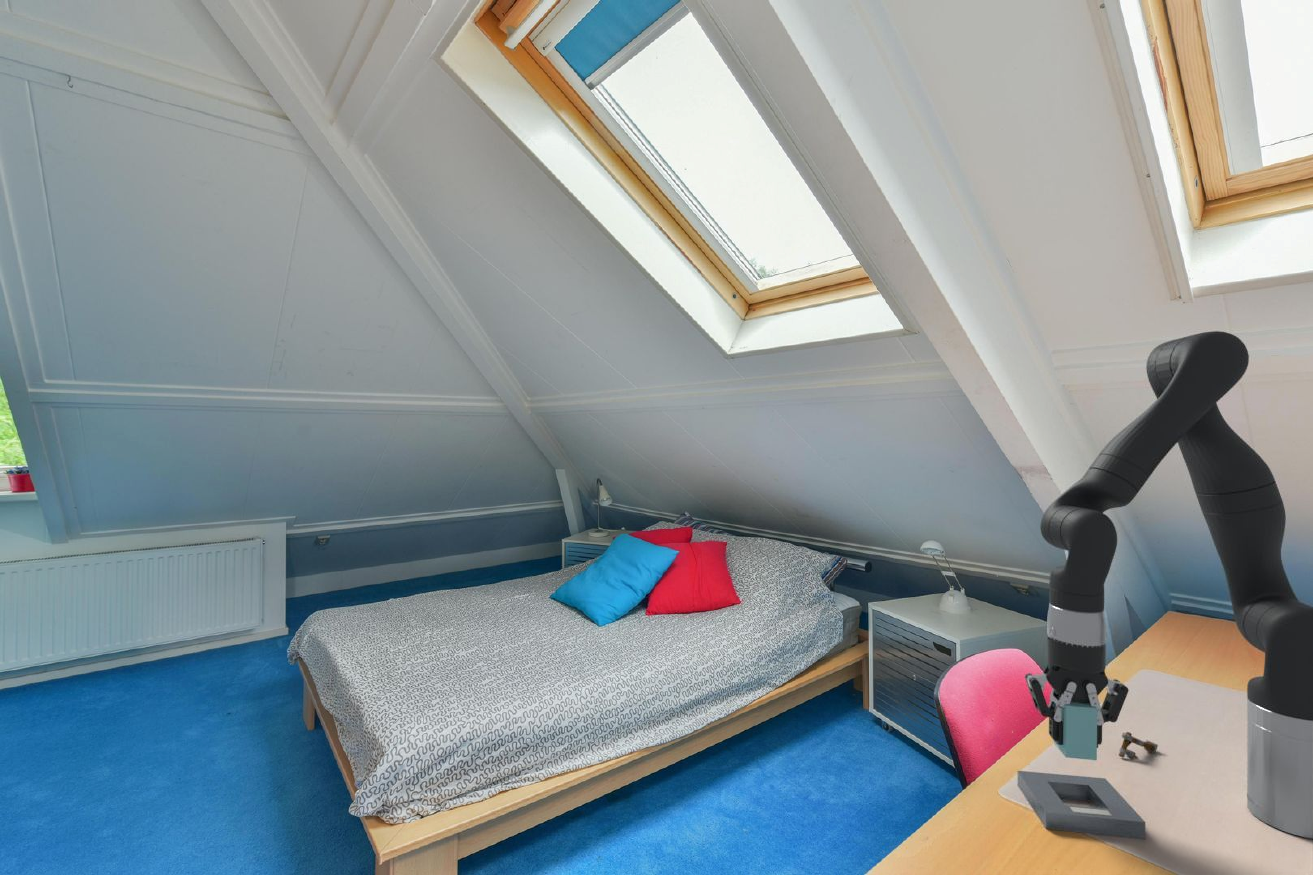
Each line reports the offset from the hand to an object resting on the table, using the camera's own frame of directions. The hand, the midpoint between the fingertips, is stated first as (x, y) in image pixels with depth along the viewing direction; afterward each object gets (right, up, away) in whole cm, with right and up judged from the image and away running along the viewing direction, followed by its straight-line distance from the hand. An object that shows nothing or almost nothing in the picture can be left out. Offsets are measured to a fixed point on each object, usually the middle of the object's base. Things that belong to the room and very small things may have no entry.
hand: (1074, 743), depth 94 cm
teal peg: (0, -1, 0) cm, 1 cm away
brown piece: (+22, -10, +15) cm, 29 cm away
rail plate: (0, -10, 0) cm, 10 cm away
